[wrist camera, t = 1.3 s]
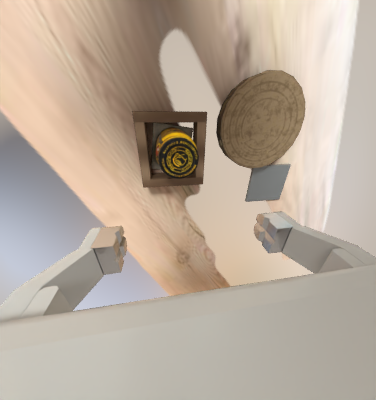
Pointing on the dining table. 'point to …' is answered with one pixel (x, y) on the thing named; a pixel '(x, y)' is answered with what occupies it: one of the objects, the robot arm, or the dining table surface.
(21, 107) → the dining table surface
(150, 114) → the holder
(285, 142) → the round cork trivet
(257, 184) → the coaster
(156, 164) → the condiment
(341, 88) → the dining table surface
